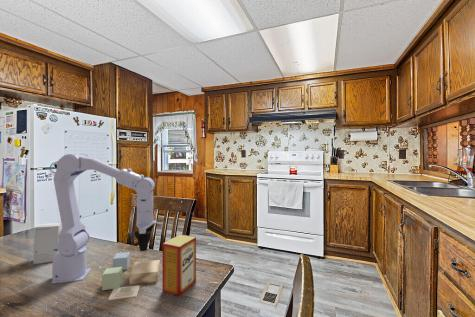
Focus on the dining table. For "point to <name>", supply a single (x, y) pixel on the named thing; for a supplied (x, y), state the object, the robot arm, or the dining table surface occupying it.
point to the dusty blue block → (122, 260)
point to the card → (124, 292)
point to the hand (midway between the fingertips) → (145, 246)
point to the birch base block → (145, 272)
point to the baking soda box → (179, 264)
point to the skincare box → (46, 242)
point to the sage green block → (112, 278)
